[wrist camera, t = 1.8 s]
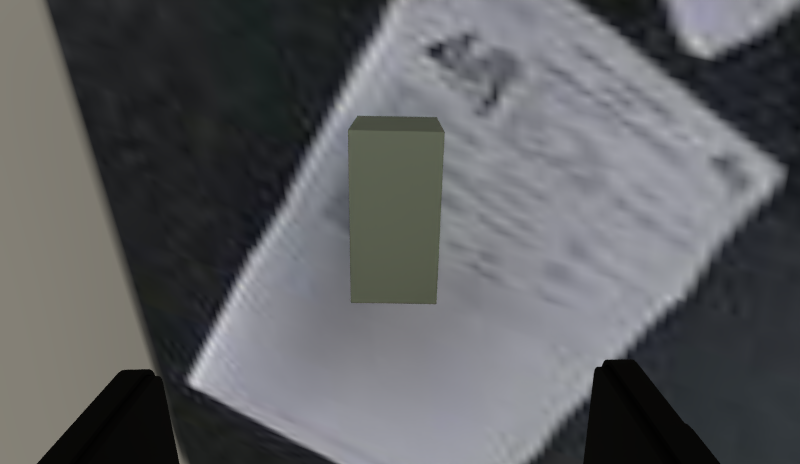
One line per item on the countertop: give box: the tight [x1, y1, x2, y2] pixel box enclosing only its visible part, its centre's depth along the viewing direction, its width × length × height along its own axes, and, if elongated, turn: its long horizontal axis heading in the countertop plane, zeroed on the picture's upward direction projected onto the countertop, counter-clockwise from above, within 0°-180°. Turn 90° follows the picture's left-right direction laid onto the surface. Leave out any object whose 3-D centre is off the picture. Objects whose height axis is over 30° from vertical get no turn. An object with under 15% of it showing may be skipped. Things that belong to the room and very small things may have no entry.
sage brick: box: [348, 116, 445, 304], centre depth 25 cm, size 8×4×5 cm, turn 179°
